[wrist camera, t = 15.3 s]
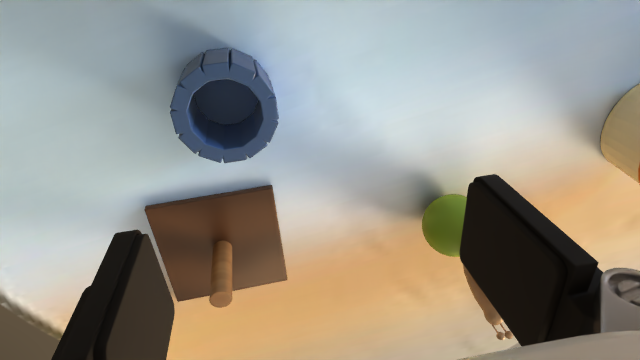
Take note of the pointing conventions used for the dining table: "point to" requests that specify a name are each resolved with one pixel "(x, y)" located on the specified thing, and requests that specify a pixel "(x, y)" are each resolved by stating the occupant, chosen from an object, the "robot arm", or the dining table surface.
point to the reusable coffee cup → (624, 134)
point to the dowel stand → (219, 243)
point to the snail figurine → (455, 245)
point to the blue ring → (211, 135)
